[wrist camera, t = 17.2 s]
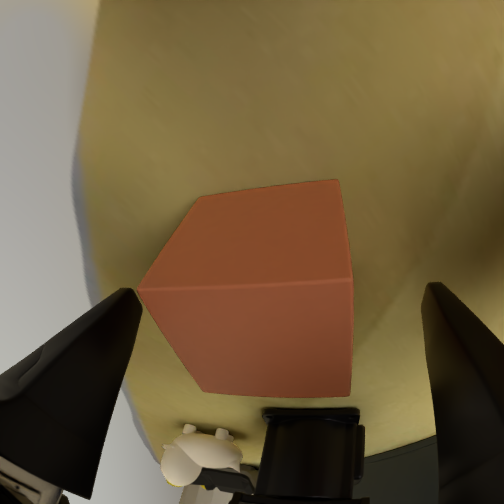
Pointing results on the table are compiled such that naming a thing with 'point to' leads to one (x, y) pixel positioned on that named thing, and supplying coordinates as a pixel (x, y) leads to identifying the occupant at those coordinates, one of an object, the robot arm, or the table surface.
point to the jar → (204, 496)
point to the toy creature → (198, 455)
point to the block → (260, 292)
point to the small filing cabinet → (401, 475)
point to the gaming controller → (227, 479)
